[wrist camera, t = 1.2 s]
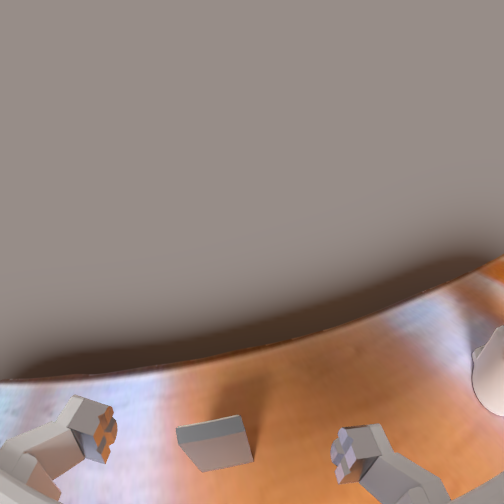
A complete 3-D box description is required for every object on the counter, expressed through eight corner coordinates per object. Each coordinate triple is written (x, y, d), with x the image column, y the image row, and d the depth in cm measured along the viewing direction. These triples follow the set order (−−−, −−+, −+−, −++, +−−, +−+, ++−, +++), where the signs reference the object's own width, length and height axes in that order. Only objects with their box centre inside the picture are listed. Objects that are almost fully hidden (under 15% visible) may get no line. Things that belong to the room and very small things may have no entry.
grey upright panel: (253, 461, 30) (245, 431, 25) (202, 472, 29) (178, 444, 23) (249, 447, 32) (239, 413, 27) (198, 458, 31) (175, 426, 25)
